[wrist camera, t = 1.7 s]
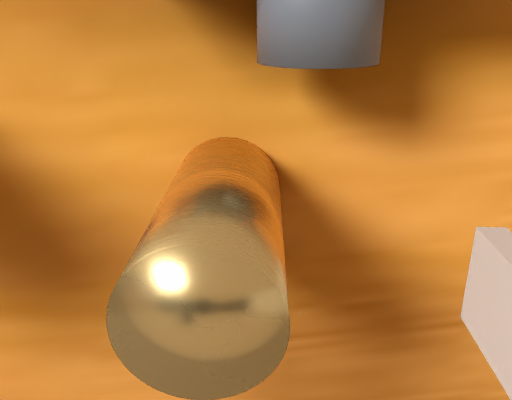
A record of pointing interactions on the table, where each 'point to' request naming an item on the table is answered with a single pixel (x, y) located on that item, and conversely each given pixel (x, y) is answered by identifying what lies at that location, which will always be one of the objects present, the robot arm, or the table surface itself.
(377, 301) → the table surface
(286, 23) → the valve body
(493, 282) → the robot arm
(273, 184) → the brass cylinder
